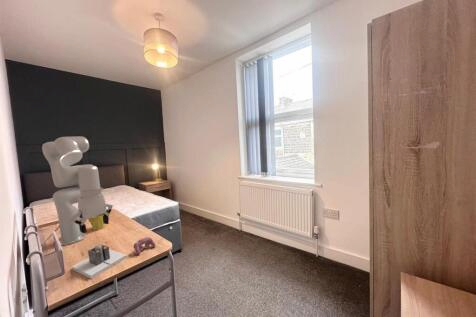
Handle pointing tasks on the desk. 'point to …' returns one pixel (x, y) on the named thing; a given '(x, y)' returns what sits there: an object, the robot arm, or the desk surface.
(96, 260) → the grey u-shaped bracket
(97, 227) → the plant pot
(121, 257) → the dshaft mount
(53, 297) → the desk surface
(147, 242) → the video game controller
